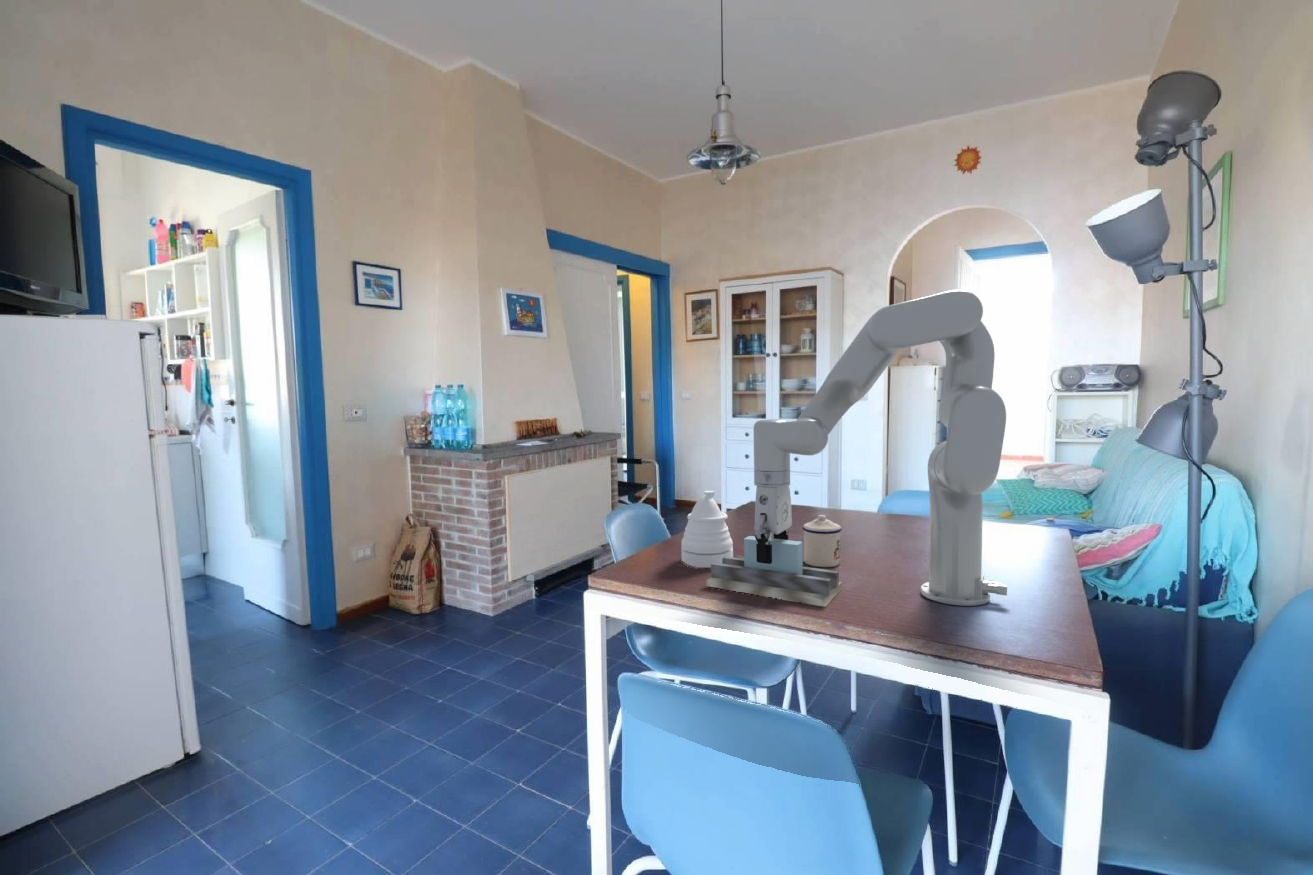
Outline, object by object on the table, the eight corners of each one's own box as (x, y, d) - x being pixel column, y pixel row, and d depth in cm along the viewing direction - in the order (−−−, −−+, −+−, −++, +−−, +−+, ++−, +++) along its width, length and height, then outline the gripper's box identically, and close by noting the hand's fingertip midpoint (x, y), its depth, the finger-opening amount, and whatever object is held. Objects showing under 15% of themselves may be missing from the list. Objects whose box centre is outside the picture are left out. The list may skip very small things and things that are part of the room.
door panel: (802, 583, 130) (802, 541, 130) (797, 587, 128) (797, 544, 127) (750, 575, 137) (749, 535, 136) (744, 579, 134) (743, 538, 133)
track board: (841, 589, 131) (841, 568, 130) (825, 606, 121) (825, 584, 120) (729, 572, 144) (729, 553, 144) (706, 587, 134) (706, 566, 134)
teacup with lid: (843, 568, 145) (843, 519, 144) (803, 567, 147) (803, 519, 146) (839, 554, 157) (838, 509, 156) (802, 553, 159) (802, 509, 158)
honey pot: (742, 564, 151) (741, 491, 149) (694, 571, 146) (693, 496, 145) (718, 552, 163) (717, 484, 161) (673, 558, 158) (671, 488, 156)
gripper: (774, 484, 121) (774, 570, 123) (802, 473, 136) (803, 549, 137) (738, 482, 125) (740, 565, 127) (770, 471, 140) (771, 545, 141)
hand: (772, 557), depth 132 cm, fingers open, 9 cm apart
